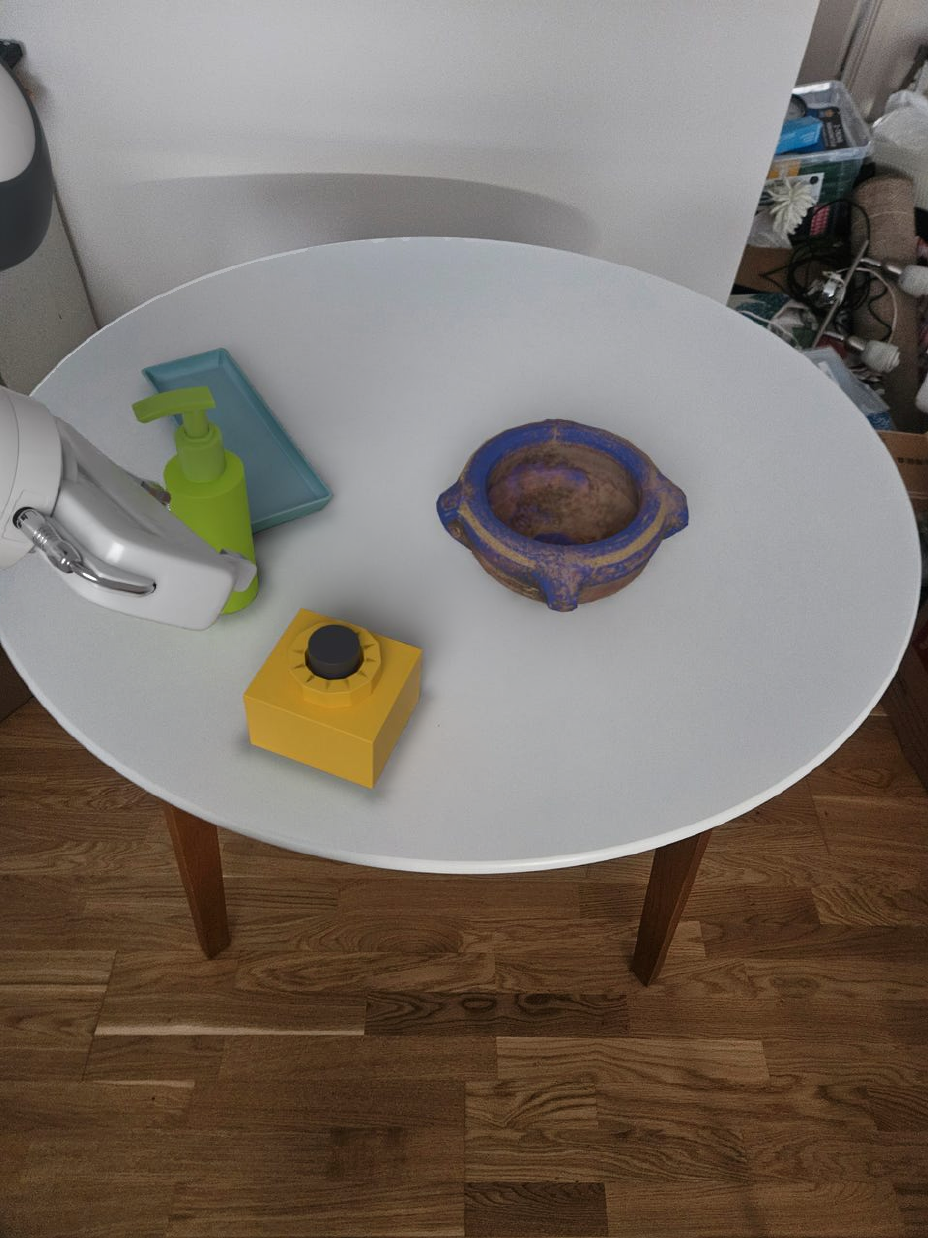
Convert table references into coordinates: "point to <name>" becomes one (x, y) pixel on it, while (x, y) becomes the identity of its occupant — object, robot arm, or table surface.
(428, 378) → the table surface
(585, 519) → the bowl
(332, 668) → the black cylinder
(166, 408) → the soap dispenser
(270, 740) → the yellow push button box
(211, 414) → the rectangular tray
